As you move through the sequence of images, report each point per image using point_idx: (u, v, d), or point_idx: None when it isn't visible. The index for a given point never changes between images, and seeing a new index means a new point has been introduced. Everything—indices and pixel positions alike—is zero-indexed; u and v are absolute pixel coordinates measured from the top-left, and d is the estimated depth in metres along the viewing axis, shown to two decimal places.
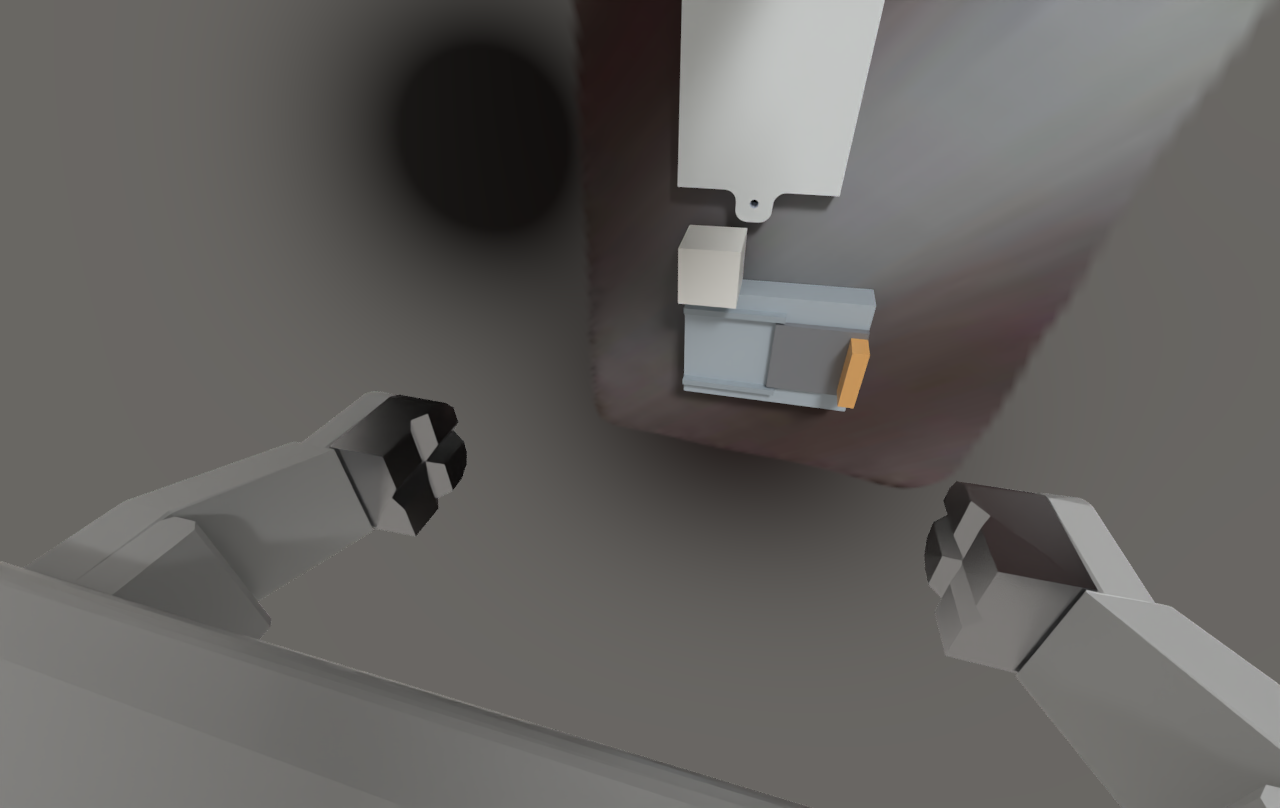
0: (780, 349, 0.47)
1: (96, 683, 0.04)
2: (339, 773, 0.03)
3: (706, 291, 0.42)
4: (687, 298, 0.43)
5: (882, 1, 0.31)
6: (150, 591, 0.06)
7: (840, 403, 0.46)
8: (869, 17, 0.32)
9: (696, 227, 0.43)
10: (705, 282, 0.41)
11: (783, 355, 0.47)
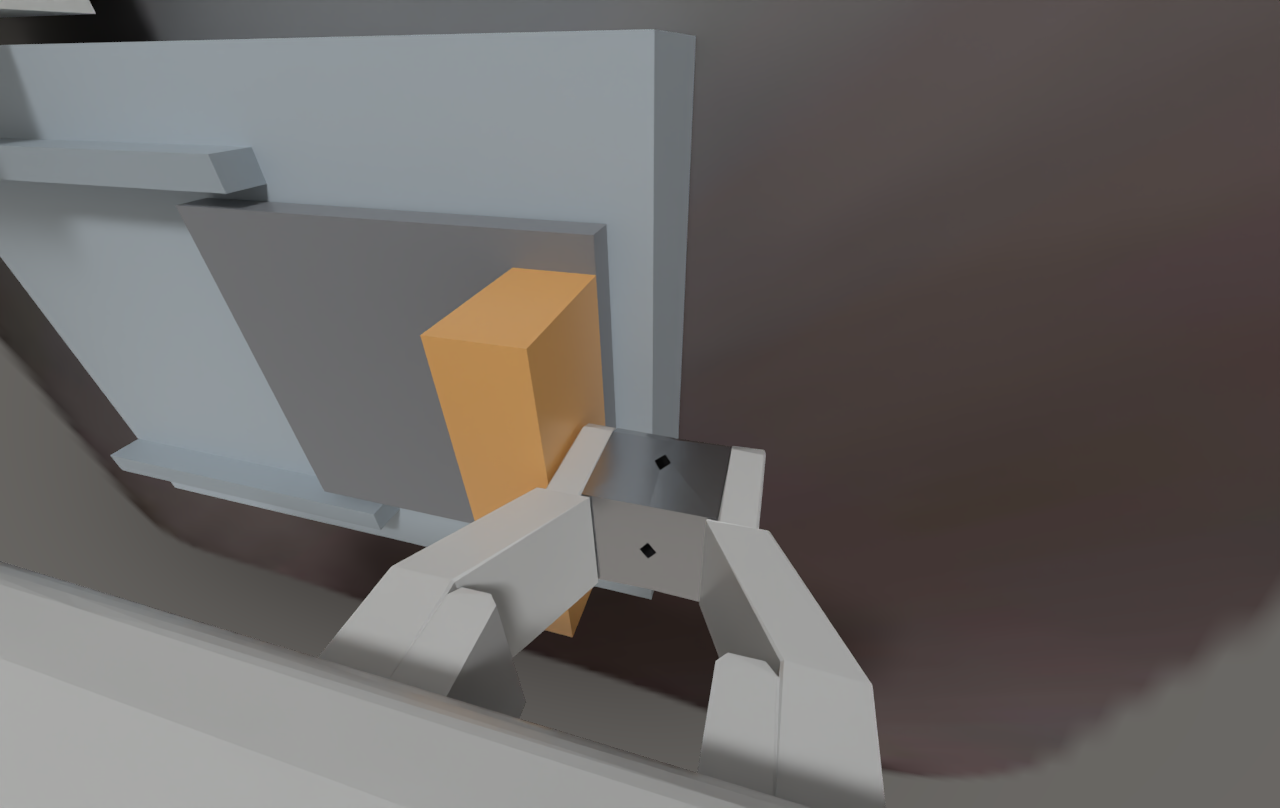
0: (273, 340, 0.10)
1: (97, 681, 0.04)
2: (339, 773, 0.03)
3: None
4: None
5: None
6: (468, 685, 0.05)
7: None
8: None
9: None
10: None
11: (298, 366, 0.11)
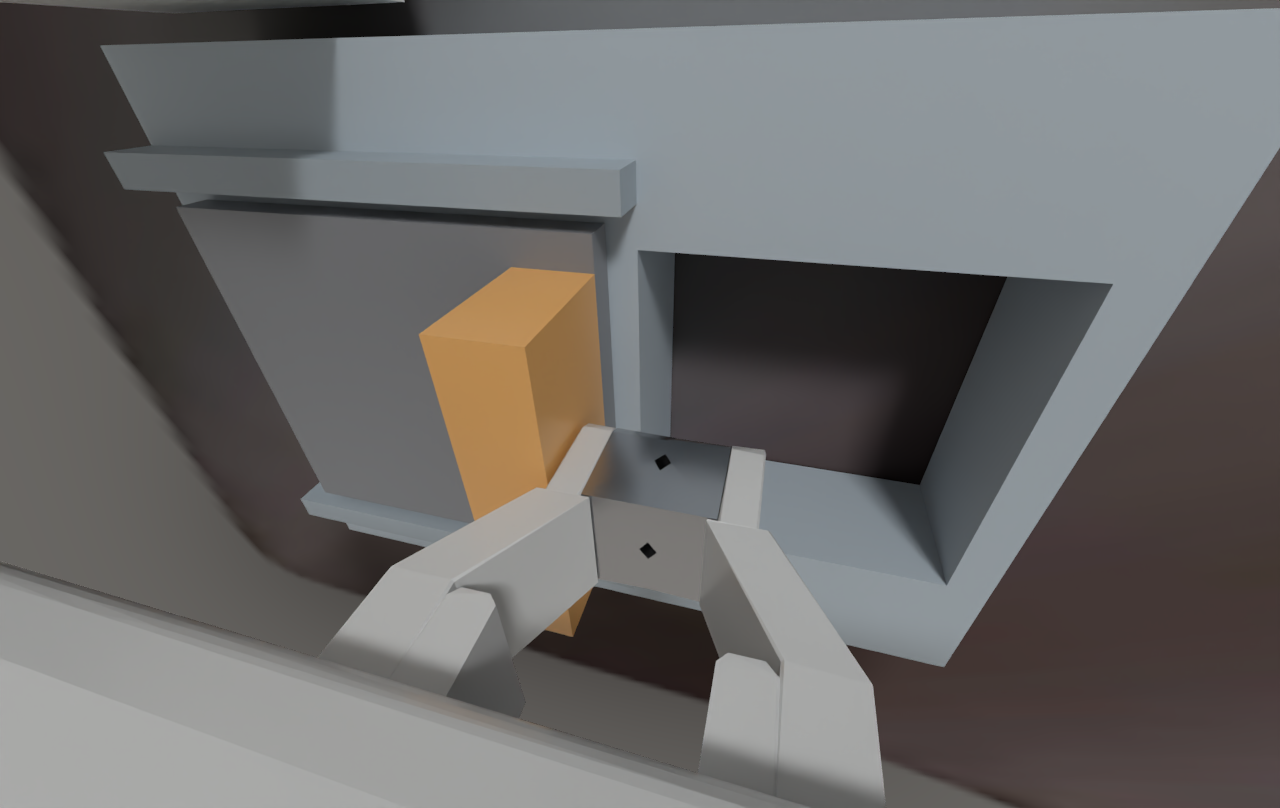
0: (273, 341, 0.10)
1: (97, 681, 0.04)
2: (339, 773, 0.03)
3: None
4: None
5: None
6: (467, 684, 0.05)
7: None
8: None
9: None
10: None
11: (298, 367, 0.11)
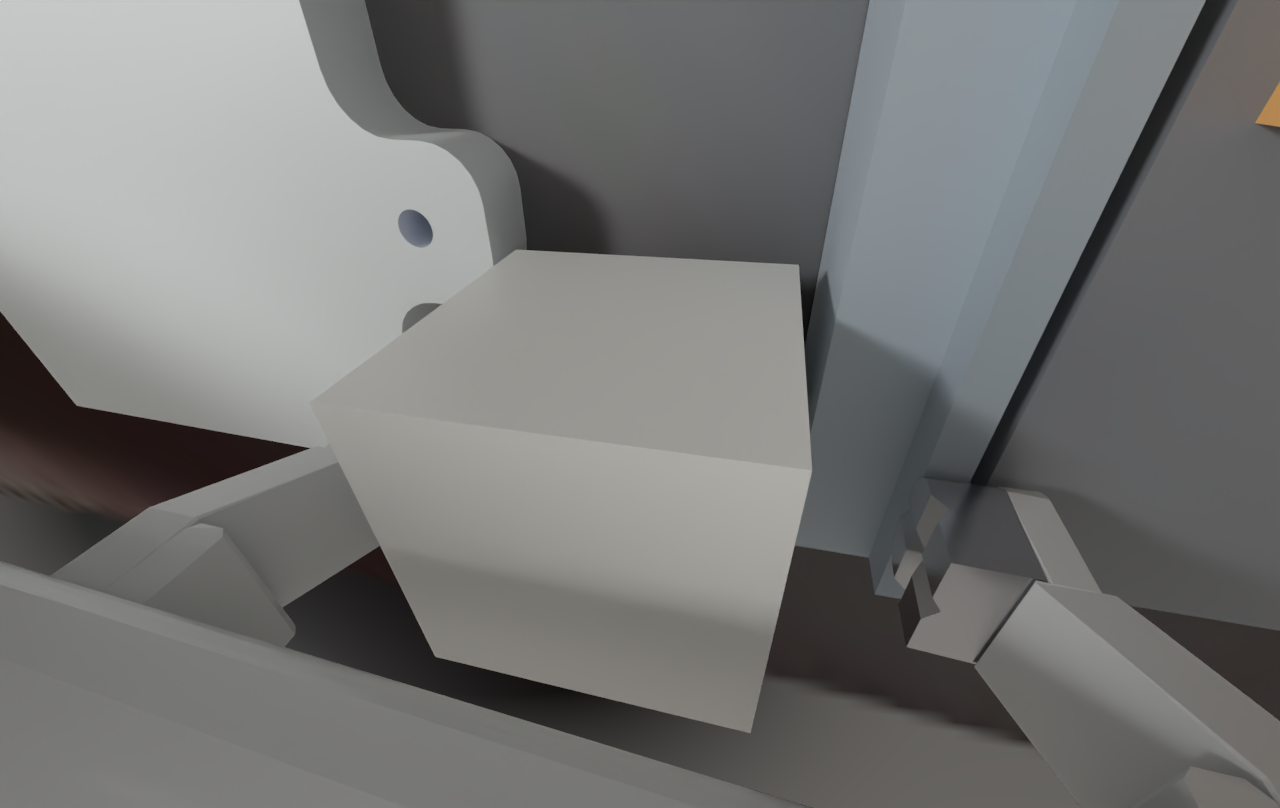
0: (1154, 573, 0.07)
1: (97, 681, 0.04)
2: (339, 773, 0.03)
3: (655, 614, 0.06)
4: (713, 695, 0.07)
5: None
6: (180, 600, 0.06)
7: None
8: None
9: None
10: (586, 606, 0.06)
11: (1217, 566, 0.07)
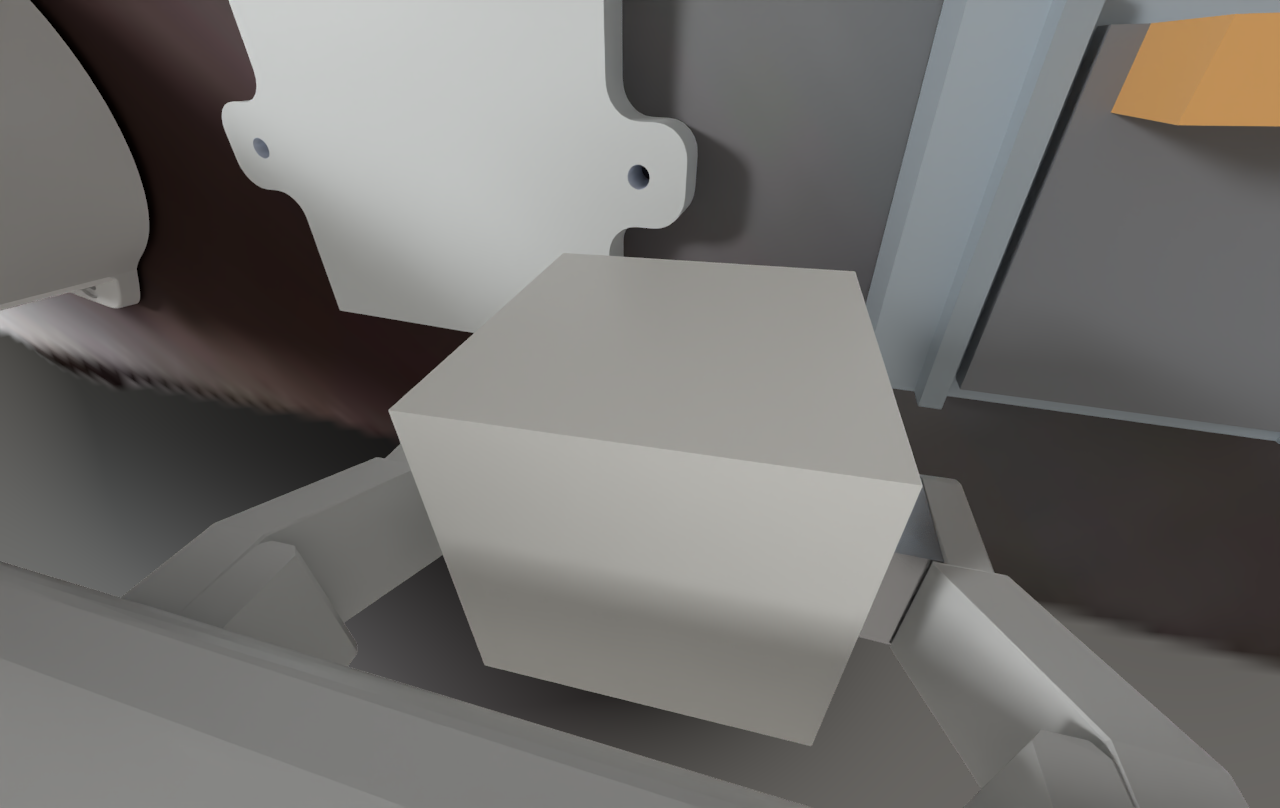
0: (1087, 379, 0.13)
1: (96, 681, 0.04)
2: (339, 773, 0.03)
3: (728, 625, 0.06)
4: (778, 708, 0.07)
5: None
6: (255, 622, 0.05)
7: None
8: None
9: None
10: (655, 617, 0.06)
11: (1122, 370, 0.12)
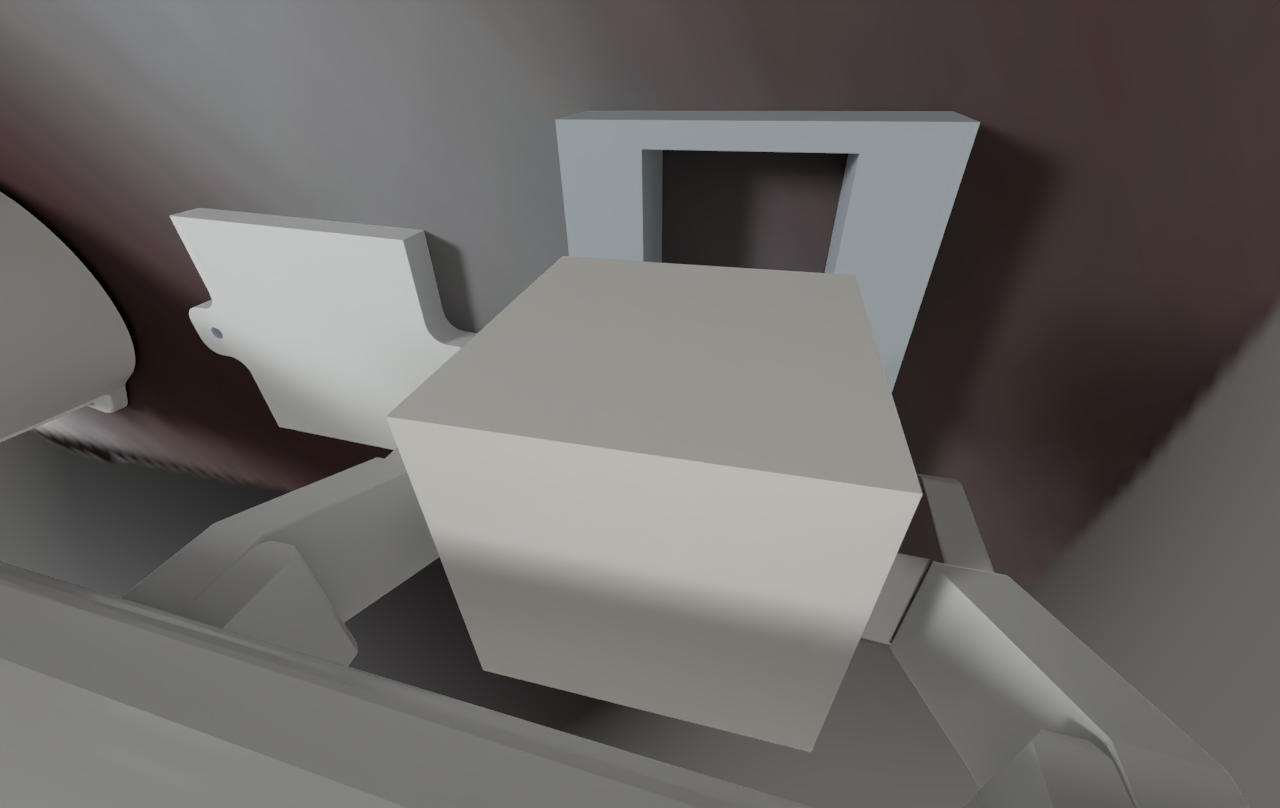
0: None
1: (95, 683, 0.04)
2: (339, 773, 0.03)
3: (728, 634, 0.06)
4: (777, 714, 0.07)
5: (187, 219, 0.24)
6: (256, 622, 0.05)
7: None
8: (206, 233, 0.24)
9: None
10: (654, 623, 0.06)
11: None
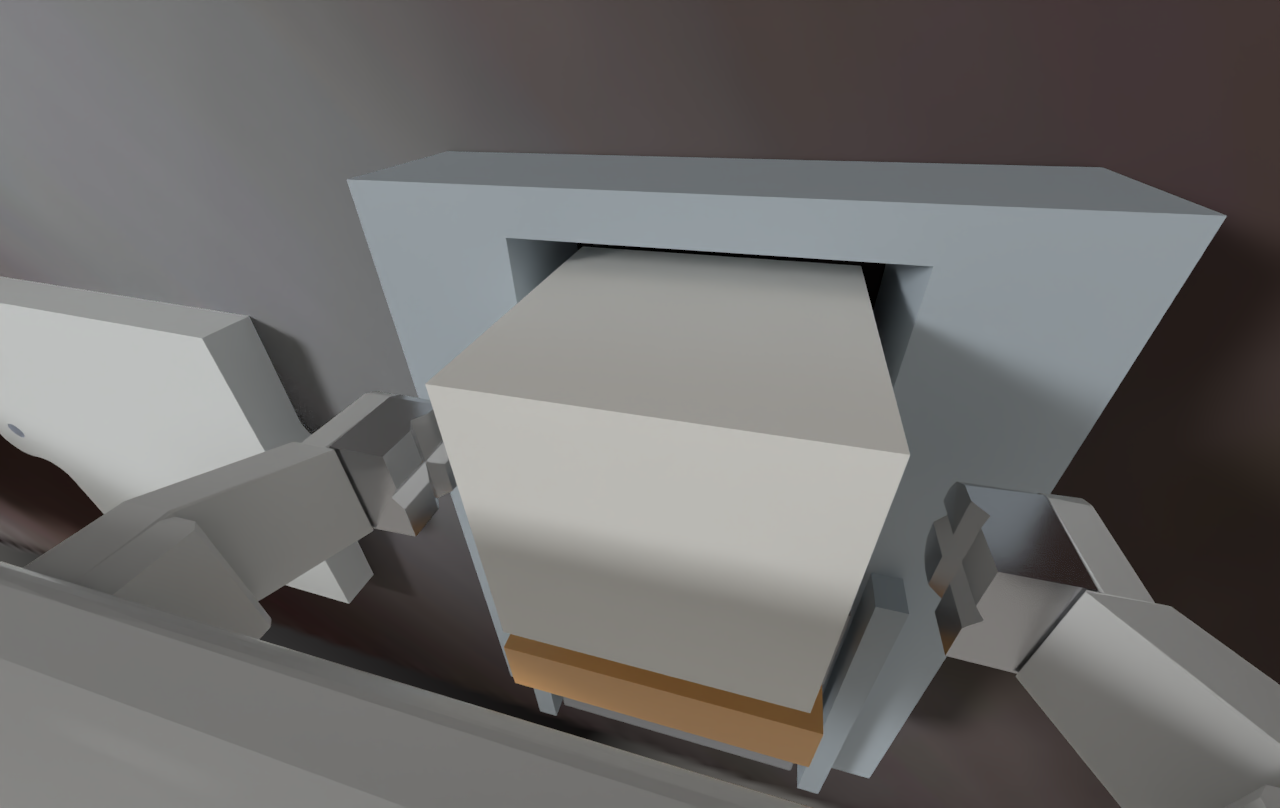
0: None
1: (97, 683, 0.04)
2: (339, 773, 0.03)
3: (732, 592, 0.06)
4: (778, 674, 0.07)
5: None
6: (150, 591, 0.06)
7: (790, 757, 0.09)
8: None
9: None
10: (665, 584, 0.06)
11: None
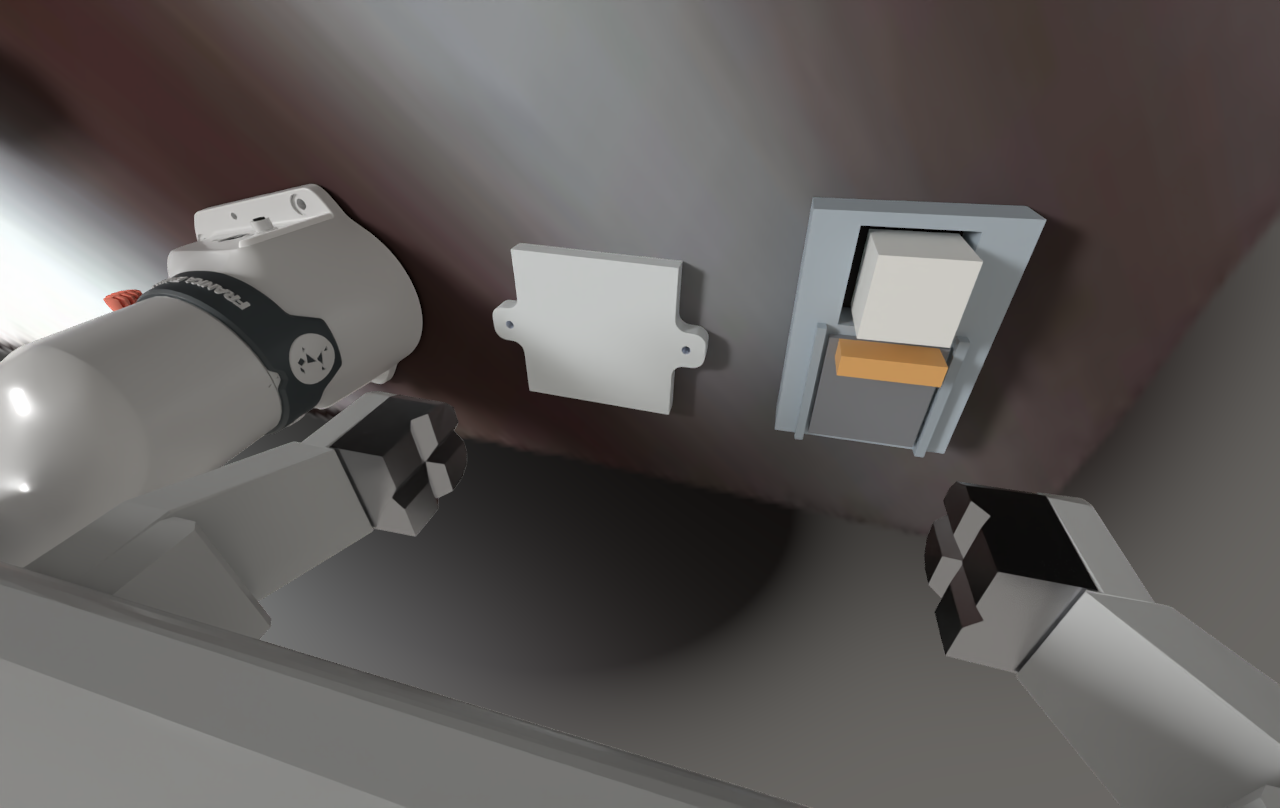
0: (847, 429, 0.36)
1: (97, 683, 0.04)
2: (339, 773, 0.03)
3: (937, 305, 0.27)
4: (943, 333, 0.28)
5: (523, 252, 0.38)
6: (150, 591, 0.06)
7: (935, 383, 0.30)
8: (533, 260, 0.38)
9: (853, 297, 0.33)
10: (919, 306, 0.28)
11: (857, 426, 0.36)
